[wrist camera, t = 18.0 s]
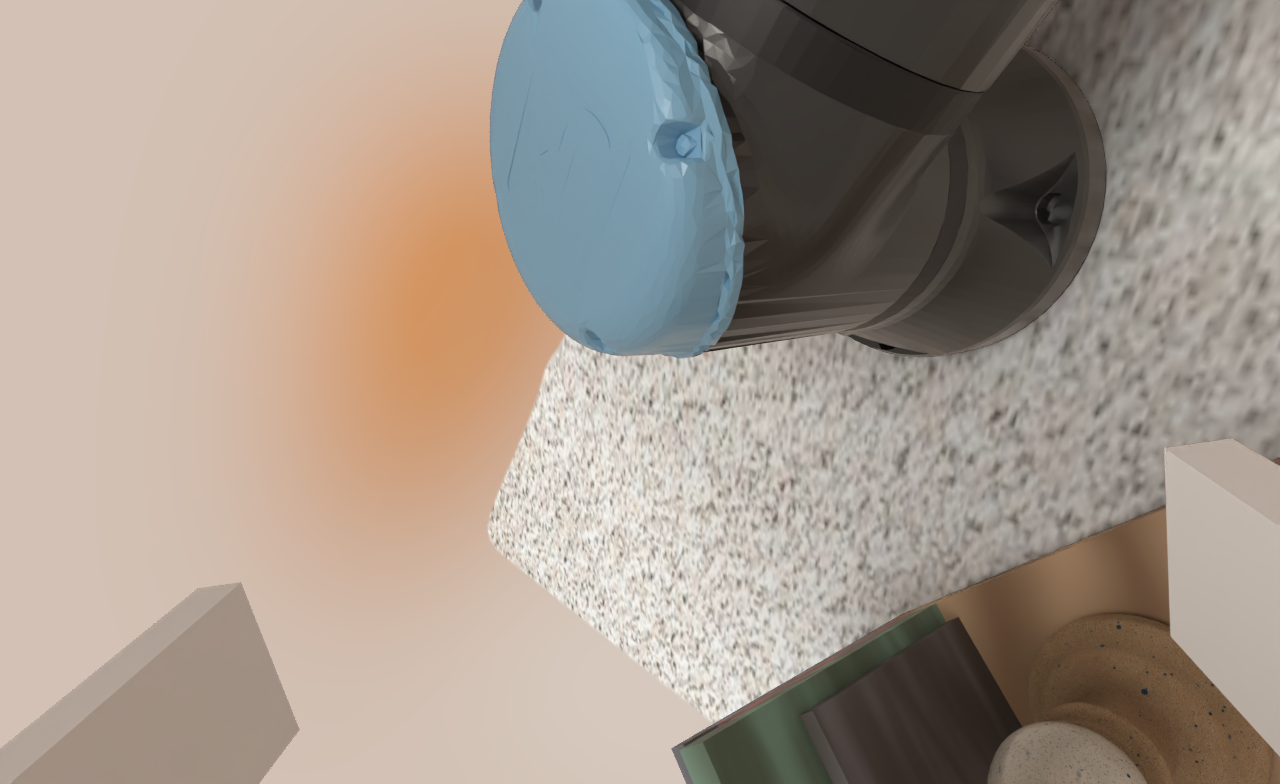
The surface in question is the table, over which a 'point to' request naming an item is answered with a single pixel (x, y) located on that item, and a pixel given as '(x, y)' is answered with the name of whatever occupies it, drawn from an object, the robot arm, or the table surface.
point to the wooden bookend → (936, 676)
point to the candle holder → (1127, 714)
